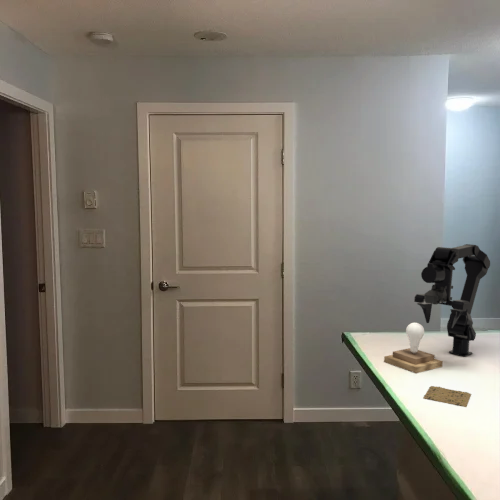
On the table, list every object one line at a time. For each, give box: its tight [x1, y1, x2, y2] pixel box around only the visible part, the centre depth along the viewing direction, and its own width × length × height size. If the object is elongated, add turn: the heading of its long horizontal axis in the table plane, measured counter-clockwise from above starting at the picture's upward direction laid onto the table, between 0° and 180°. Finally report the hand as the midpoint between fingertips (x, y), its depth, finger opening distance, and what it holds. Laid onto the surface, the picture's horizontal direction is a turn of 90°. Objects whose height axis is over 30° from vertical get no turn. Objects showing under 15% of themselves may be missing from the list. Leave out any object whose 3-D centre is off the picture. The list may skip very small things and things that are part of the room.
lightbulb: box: [405, 322, 425, 353], centre depth 178 cm, size 6×6×11 cm
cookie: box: [422, 385, 472, 408], centre depth 149 cm, size 12×12×1 cm
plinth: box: [383, 347, 443, 374], centre depth 178 cm, size 14×14×4 cm
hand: (439, 325), depth 181 cm, fingers open, 9 cm apart
